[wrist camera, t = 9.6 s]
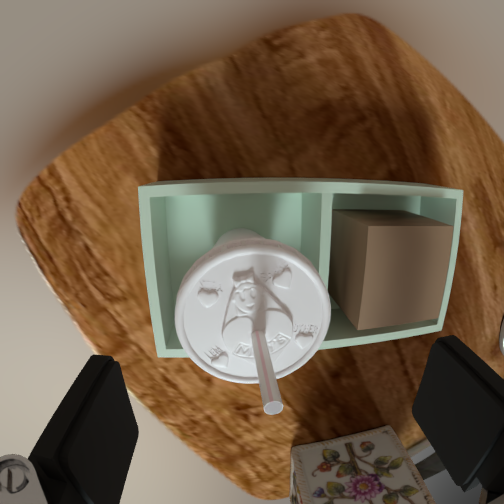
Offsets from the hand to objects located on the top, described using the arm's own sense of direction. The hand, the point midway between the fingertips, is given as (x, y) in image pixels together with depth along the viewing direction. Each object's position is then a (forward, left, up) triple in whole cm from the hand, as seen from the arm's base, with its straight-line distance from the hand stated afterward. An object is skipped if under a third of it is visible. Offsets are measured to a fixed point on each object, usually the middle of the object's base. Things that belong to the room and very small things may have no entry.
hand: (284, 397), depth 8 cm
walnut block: (-9, 0, -14) cm, 17 cm away
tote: (-4, 0, -15) cm, 15 cm away
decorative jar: (-10, +26, -15) cm, 31 cm away
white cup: (0, 0, -14) cm, 14 cm away
